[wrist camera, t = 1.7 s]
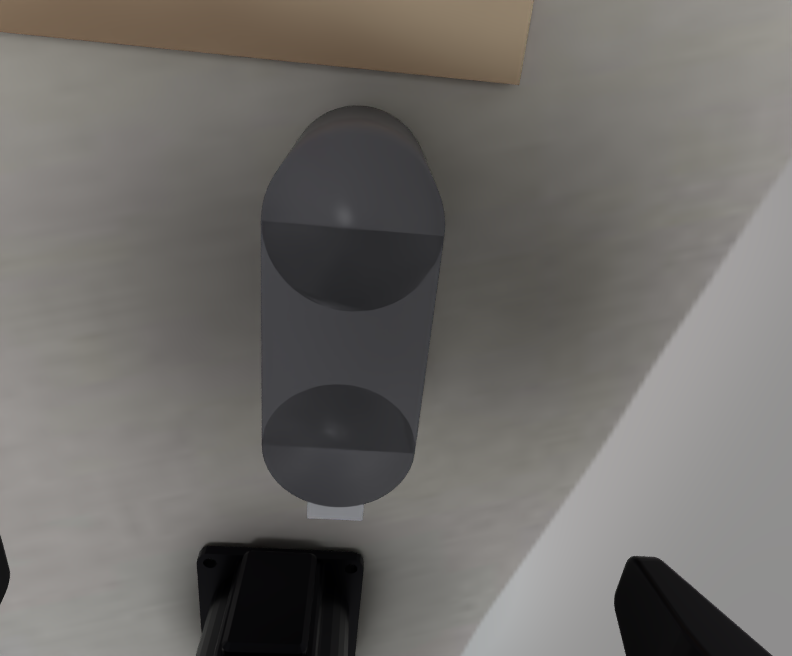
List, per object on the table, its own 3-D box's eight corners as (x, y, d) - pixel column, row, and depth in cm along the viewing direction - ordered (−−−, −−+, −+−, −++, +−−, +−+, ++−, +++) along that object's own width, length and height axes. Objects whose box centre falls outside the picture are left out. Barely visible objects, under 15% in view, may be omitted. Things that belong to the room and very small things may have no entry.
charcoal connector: (393, 463, 22) (398, 571, 18) (284, 457, 22) (262, 566, 17) (434, 113, 17) (457, 142, 12) (291, 98, 16) (260, 124, 12)
